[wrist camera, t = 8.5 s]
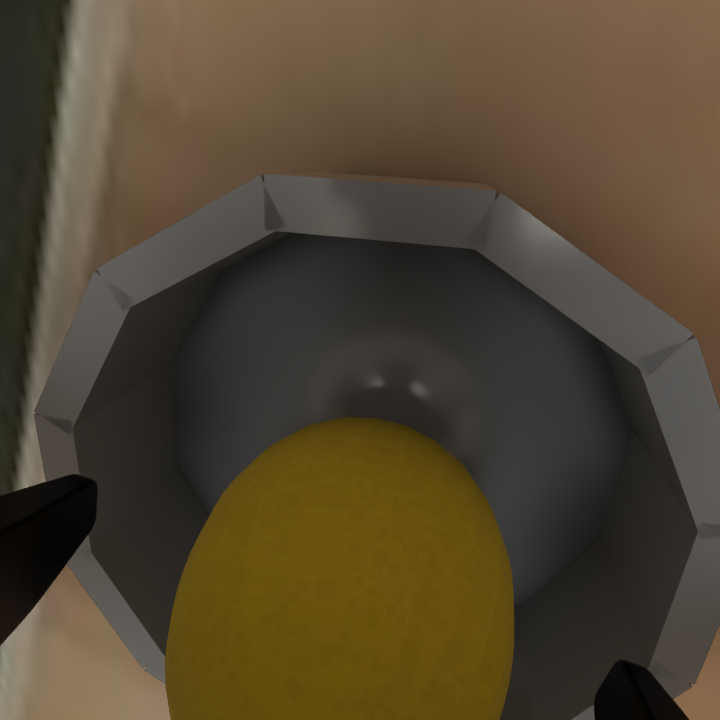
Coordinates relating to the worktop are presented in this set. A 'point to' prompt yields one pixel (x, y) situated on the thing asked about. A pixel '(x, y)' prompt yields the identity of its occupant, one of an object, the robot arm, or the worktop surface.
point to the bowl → (403, 408)
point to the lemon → (345, 587)
